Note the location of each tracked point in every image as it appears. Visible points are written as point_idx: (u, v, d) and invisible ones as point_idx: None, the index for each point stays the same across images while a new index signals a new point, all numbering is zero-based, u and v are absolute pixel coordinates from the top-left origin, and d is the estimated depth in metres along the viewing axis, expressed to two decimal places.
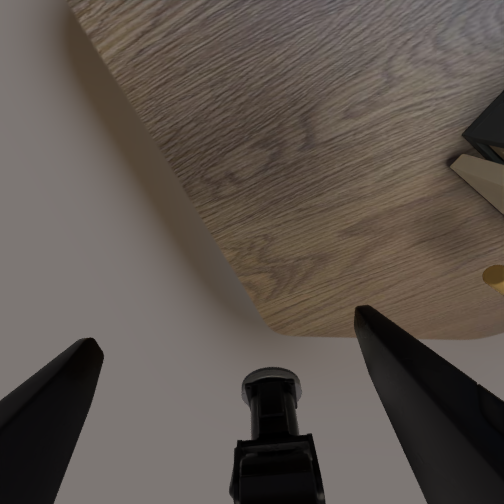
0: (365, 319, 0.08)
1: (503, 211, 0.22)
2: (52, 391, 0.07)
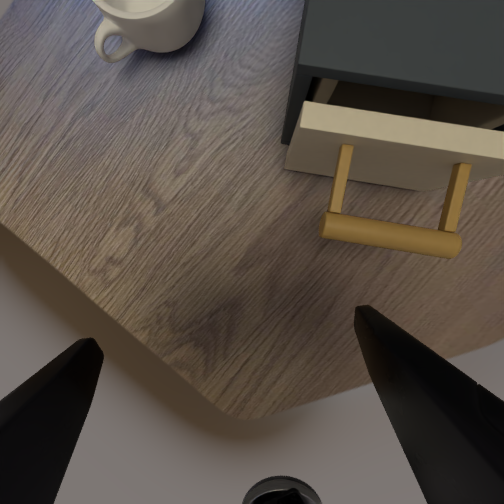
0: (365, 319, 0.08)
1: (365, 179, 0.21)
2: (52, 391, 0.07)
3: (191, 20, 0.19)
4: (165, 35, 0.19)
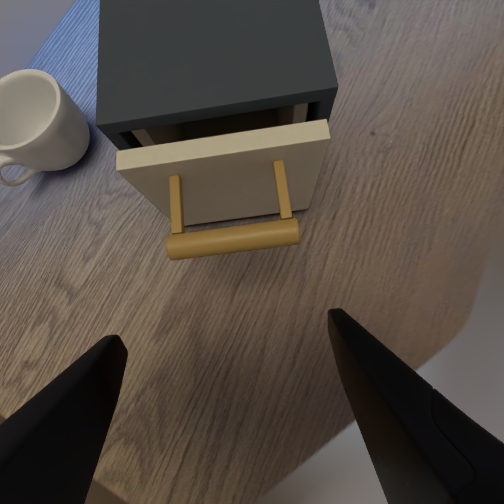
0: (335, 323, 0.08)
1: (248, 213, 0.22)
2: (83, 388, 0.07)
3: (73, 140, 0.24)
4: (51, 154, 0.23)
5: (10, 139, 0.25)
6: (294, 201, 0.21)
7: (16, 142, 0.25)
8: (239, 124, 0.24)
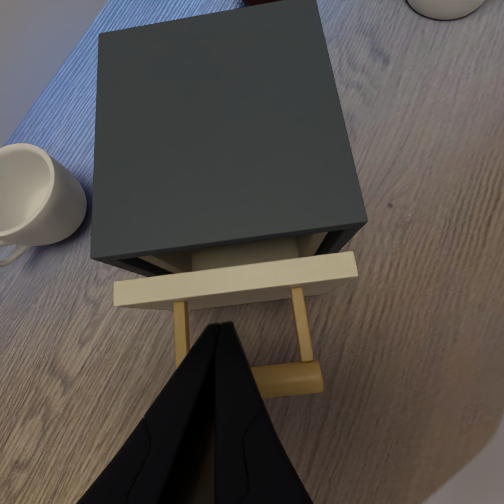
0: (218, 336, 0.08)
1: (257, 301, 0.20)
2: (210, 374, 0.07)
3: (69, 216, 0.22)
4: (45, 234, 0.21)
5: (1, 213, 0.23)
6: (308, 294, 0.19)
7: (8, 214, 0.23)
8: None
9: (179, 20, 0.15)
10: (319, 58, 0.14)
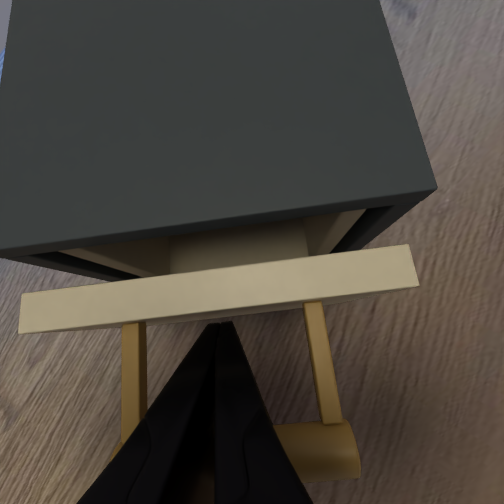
0: (218, 336, 0.08)
1: (254, 313, 0.16)
2: (210, 374, 0.07)
3: None
4: None
5: None
6: (322, 304, 0.14)
7: None
8: None
9: None
10: None
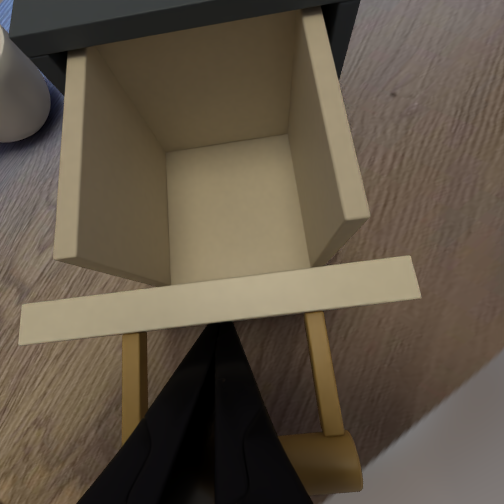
0: (218, 336, 0.08)
1: None
2: (210, 374, 0.07)
3: (25, 101, 0.19)
4: None
5: None
6: None
7: None
8: (242, 185, 0.17)
9: None
10: None
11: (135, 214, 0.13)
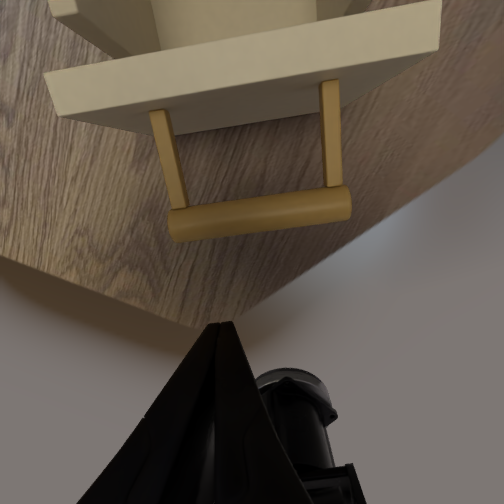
0: (218, 336, 0.08)
1: (259, 120, 0.16)
2: (210, 374, 0.07)
3: None
4: None
5: None
6: None
7: None
8: None
9: None
10: None
11: None
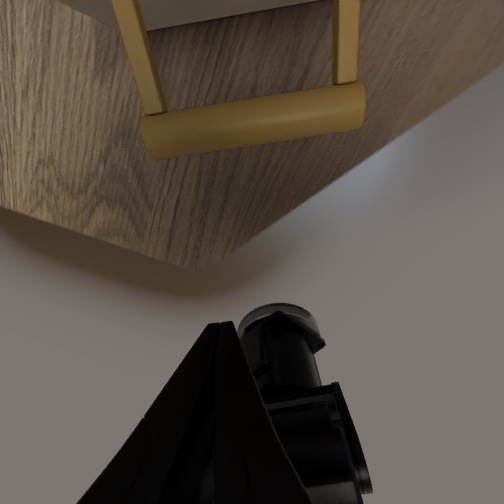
0: (218, 336, 0.08)
1: (249, 8, 0.13)
2: (210, 374, 0.07)
3: None
4: None
5: None
6: None
7: None
8: None
9: None
10: None
11: None
